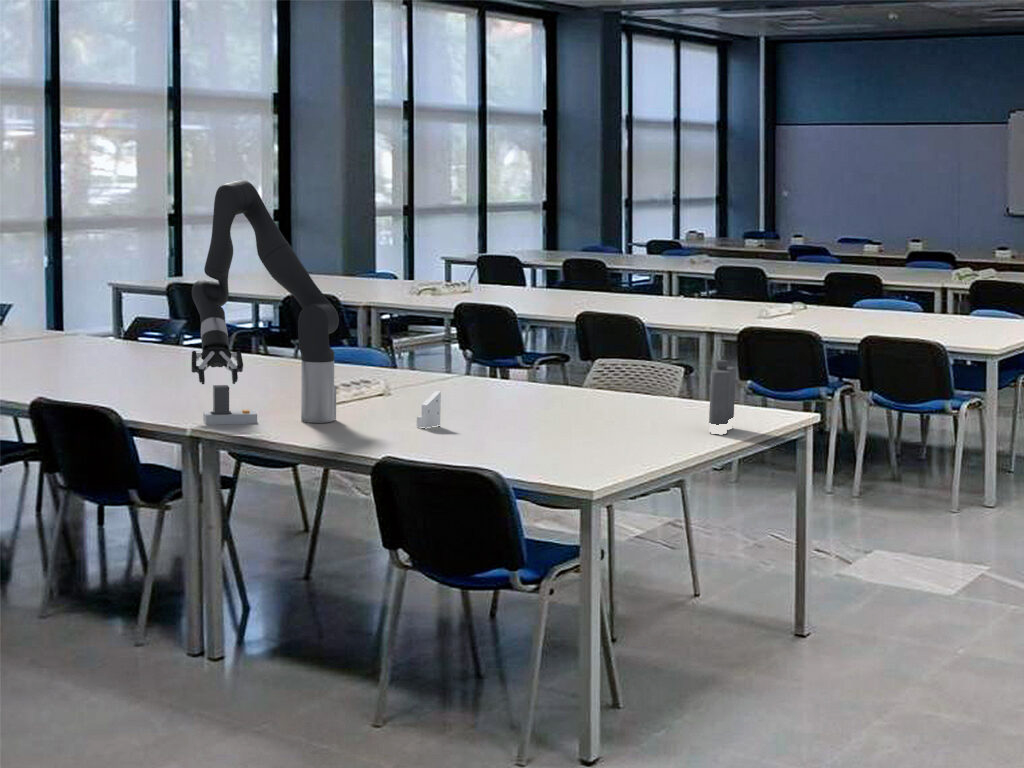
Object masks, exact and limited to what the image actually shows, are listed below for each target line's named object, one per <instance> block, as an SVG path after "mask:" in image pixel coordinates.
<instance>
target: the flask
mask: <svg viewBox="0 0 1024 768" xmlns="http://www.w3.org/2000/svg"><path fill="white" fill-rule="evenodd" d="M729 365H730V364H729V361H728V360H724V359H723V360H722V359H718V360H717V361H716V360H715V368H713V369H711V371H710V387H709V390H710V391H709V393H710V394H709V411H708V413H709V414H708V416H709V417H708V418H709V419H708V424H709V423H711V424H716V425H719V424H727V423H728V420H729V419H731V418H733V417H735V397H736V396H735V395H736V375H737V374H736V373H737V368H736V367H733V366H729Z"/></svg>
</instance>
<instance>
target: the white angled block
mask: <svg viewBox="0 0 1024 768" xmlns="http://www.w3.org/2000/svg"><path fill="white" fill-rule="evenodd" d="M441 394H442V391H440V390H435V391H434V392H433V393H432V394H431V395H430V396H429V397H428V398H426V400H425V401H424V402H423V403H422V404H421V415H419V416H416V427H417V426H418V427H425V428H427V427H432V426H437V425H440V426H441V406H442V405H441V403H442V402H441V401H442V399H441V398H442V395H441Z"/></svg>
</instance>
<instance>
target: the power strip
mask: <svg viewBox="0 0 1024 768" xmlns="http://www.w3.org/2000/svg"><path fill="white" fill-rule="evenodd" d="M202 413H203V422H204V424H205V425H207V426H209V425H241V424H242V425H244V424H245V425H247V424H248V425H249V424H258V413H257V412H256V410H254V409H252V410H250V409H241V410H229V414H228V415H213V410H209V411H208V410H207V411H206V410H204V411H202Z"/></svg>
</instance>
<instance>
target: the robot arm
mask: <svg viewBox="0 0 1024 768" xmlns="http://www.w3.org/2000/svg"><path fill="white" fill-rule="evenodd" d="M213 203H214V204H213V213H212V214H213V215H212V217H213V218H212V226H211V228H212V229H211V238H210V244H209V248H208V252H207V256H206V259H205V264H204V268H203V269H204V273H205V275H206V276H207V277H209V278H211V279H213V280H216V281H213V280H212V281H211V280H205V279H200V280H197V281H195V282H194V283H193V285H192V288H191V297H192V300H193V302H194V303H193V304H194V305H195V307H196V309H197V311H198V314H199V317H200V339H201V349H202V351H201V352H197V351H196V350H192V351H191V358H190V359H191V373H197V374H198V382H199V383H200V384H201V385H205V384H206V383H205V381H206V380H205V372H206V371H207V370H208V369H209V368H210V367H211V368H225V369H226V370H227V371H230V372H231V381H232V384H233V385H236V383H237V382H238V379H239V376H238V373H242V372H243V369H244V362H243V356H242V351H241V350H239V349H238V350H237V351H236V352H231V350H230V343H229V335H228V326H227V324H226V314H225V313H226V312H225V310H224V308H223V307H222V306H224V305H226V304H227V302H228V300H229V298H230V297H229V295H230V294H229V273H230V270H231V265H232V262H233V256H234V245H233V240H232V236H231V235H232V234H231V230H232V229H231V228H232V225H233V222H234V220H235V218H236V216H237V215H241V214H242V215H244V217H245V218H246V219H247V221H248V223H249V224H250V225H251V227H252V229H253V232H254V234H255V235H254V236H255V243H256V245H255V246H256V251H257V255H258V258H259V260H260V262H261V263H262V265H263V266H264V267H265V269H266V271H267V272H268V273H269V275H270V277H272V279H273V280H274V281H276V282H277V284H278V285H280V286H281V287H282V288H284V289H285V290H286V291H287V292H288V293H290V294H291V295H292V296H293V297H294V298H295V300H296V301H297V302H298V304H299V306H300V307H301V311H300V312H299V315H298V320H297V335H298V337H297V338H298V349H299V352H300V356H301V363H300V364H301V366H300V367H301V372H300V373H301V375H300V377H301V382H300V383H301V389H300V391H301V393H300V394H301V397H300V398H301V402H300V403H301V404H300V405H301V406H300V411H301V412H300V413H301V414H300V416H301V417H300V420H301V422H304V423H310V424H323V423H324V424H325V423H331V422H334V421H335V420H337V387H336V386H335V350H333V349H332V348H331V345H330V334H332V333H334V332H336V330H337V329H338V327H339V325H340V324H339V323H340V318H339V314H338V311H337V310H336V308H335V306H334V305H333V304H332V302H330V301H329V299H328V298H327V297H326V296H325V295H324V294H323V292H322V291H321V290H320V288H319V287H318V286H317V285H316V283H315V282H314V280H313V279H312V276H311V275H310V273H308V271H307V269H306V267H304V265H303V263H302V261H300V259H299V257H298V255H297V254H296V252H295V251H294V249H293V247H292V246H291V245H290V243H289V242H288V241H287V239H286V238H285V237H284V235H283V233H282V232H281V230H280V228H279V227H278V226H277V224H276V222H275V220H274V219H273V218H272V216H271V214H270V212H269V210H268V209H267V207H266V205H265V203H264V201H263V200H262V197H261V195H260V194H259V192H258V191H257V188H256V187H255V186H254V185H253V184H252V183H251V182H250V181H247V180H245V179H240V180H235V181H230V182H228V183H224V184H221V185H220V186H219V187H218V188H217V189H216V192H215V195H214V202H213ZM200 359H201V360H202V363H200V365H197V361H199V360H200ZM232 359H233V360H234V361H236V364H235V363H234V362H233V360H232Z"/></svg>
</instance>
